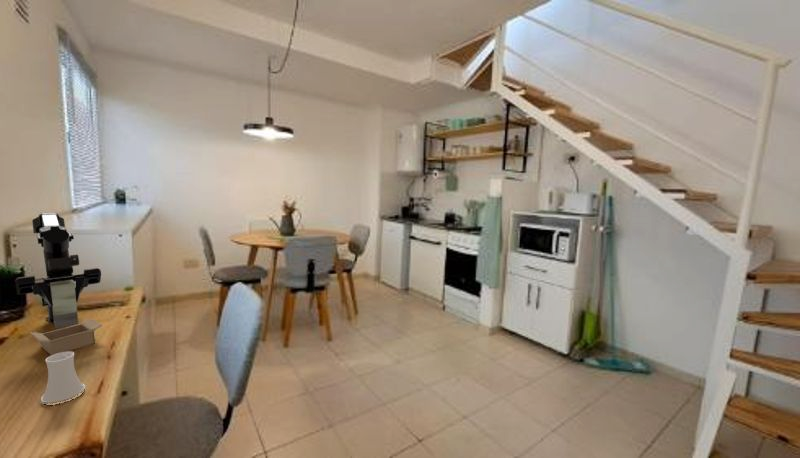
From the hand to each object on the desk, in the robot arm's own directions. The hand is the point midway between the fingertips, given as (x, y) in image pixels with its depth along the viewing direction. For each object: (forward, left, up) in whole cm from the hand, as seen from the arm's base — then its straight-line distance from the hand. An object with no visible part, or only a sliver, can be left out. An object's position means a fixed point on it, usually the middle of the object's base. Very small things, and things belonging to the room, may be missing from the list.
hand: (64, 304), depth 104 cm
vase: (+31, -9, -14) cm, 35 cm away
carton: (-1, 0, -13) cm, 13 cm away
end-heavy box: (-1, 0, -7) cm, 7 cm away
